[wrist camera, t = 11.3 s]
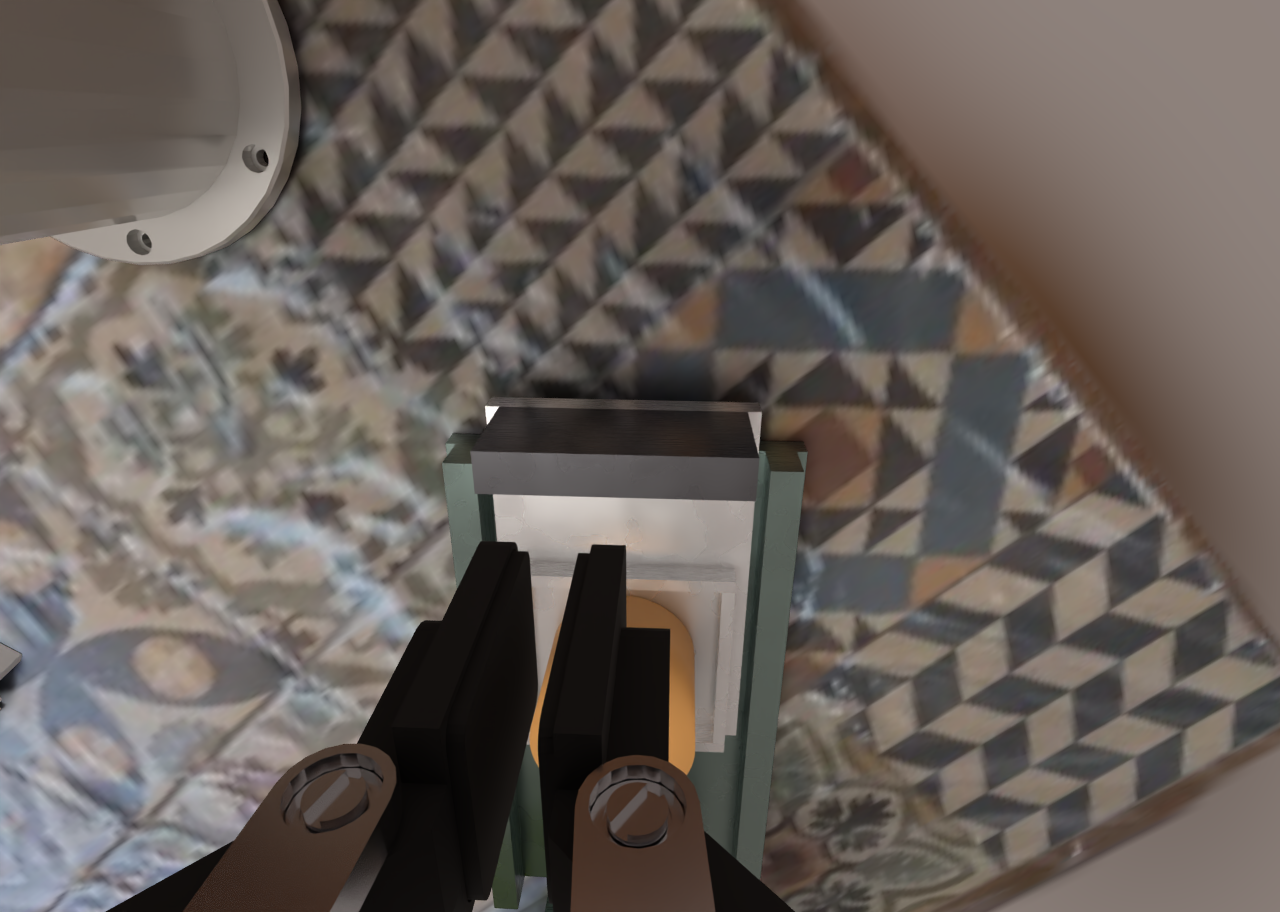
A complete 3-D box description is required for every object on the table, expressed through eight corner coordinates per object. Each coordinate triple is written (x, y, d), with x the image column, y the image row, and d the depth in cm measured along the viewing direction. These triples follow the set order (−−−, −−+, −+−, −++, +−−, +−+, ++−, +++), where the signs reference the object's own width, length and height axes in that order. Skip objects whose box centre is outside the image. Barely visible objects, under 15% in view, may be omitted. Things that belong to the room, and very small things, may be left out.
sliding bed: (491, 396, 27) (454, 450, 23) (759, 402, 27) (775, 458, 22) (517, 710, 34) (493, 801, 29) (734, 718, 33) (743, 812, 29)
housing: (547, 594, 30) (512, 712, 24) (694, 596, 29) (695, 716, 23) (558, 706, 32) (529, 837, 26) (694, 709, 32) (695, 843, 26)
